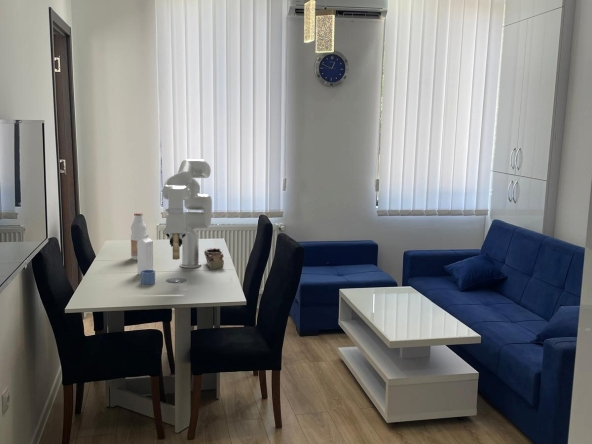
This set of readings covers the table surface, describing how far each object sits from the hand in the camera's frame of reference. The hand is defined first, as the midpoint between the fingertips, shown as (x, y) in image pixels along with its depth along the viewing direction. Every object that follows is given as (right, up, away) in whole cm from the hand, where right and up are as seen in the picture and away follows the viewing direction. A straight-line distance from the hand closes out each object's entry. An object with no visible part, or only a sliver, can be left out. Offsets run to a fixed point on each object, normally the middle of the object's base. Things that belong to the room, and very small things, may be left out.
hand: (176, 245), depth 321 cm
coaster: (-1, -19, +3) cm, 20 cm away
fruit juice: (-33, -10, +54) cm, 64 cm away
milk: (-20, -17, +16) cm, 31 cm away
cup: (-14, -20, -3) cm, 24 cm away
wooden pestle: (0, -7, +1) cm, 7 cm away
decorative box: (+13, -13, +41) cm, 45 cm away
